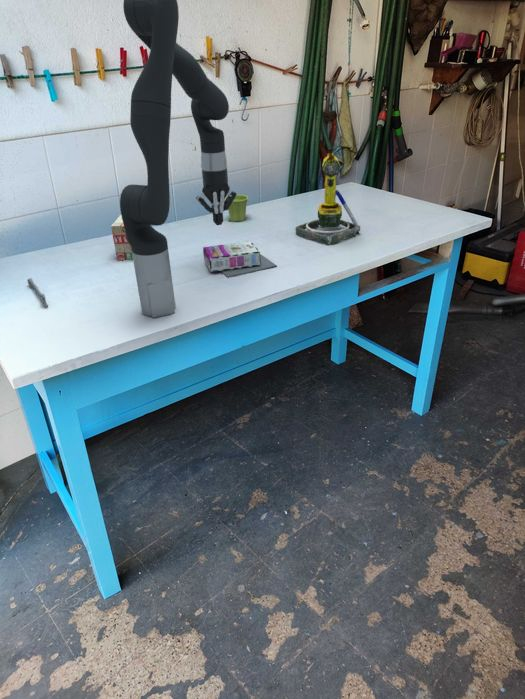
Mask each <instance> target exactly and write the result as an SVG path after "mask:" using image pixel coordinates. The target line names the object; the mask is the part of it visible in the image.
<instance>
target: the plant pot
mask: <svg viewBox="0 0 525 699" xmlns="http://www.w3.org/2000/svg"><path fill="white" fill-rule="evenodd" d="M226 198H227V196H226V197H225V199H224V201H225V200H226ZM248 199H249V196H248V195H244V194H237V195H236V197H235V198H234V200H233V202H232V204H231V205H230V207H229V209H228V210H227V211H228V215H229V219H230V221H231V222H243V221H245V220H246V215H247V213H246V212H247V204H248Z"/></svg>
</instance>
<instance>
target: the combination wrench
mask: <svg viewBox="0 0 525 699" xmlns="http://www.w3.org/2000/svg"><path fill="white" fill-rule="evenodd" d="M27 284H28V286H29V287H30V288H32V289H34V291H35V292H36V293H37V295H38V297H40V300H41V301H42V304H43V306H44V308H48V307H49V305H48V303H47V300H46V295H45V293H42V292H41V291H40V289H39V288H38V286H37V285H36V284H35V282H34V280H33V278H32V277H31V278H27Z"/></svg>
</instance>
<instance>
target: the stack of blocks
mask: <svg viewBox="0 0 525 699" xmlns="http://www.w3.org/2000/svg"><path fill="white" fill-rule="evenodd" d="M110 227H111V228H110V229H111V233H112V240H113V244H114V248H115V249H114V250H115V255H116V261H117V262H122V261H123V262H125V261H126V260H127V261H133V256H132V250H131V246H130V244H129V243H128V240H127V237H126V233H125V228H124V224H123V220H122V215H121V214H119V215H118V217H117V219H116V220H115V221H114V222H113V223H112V224H111V225H110ZM124 260H125V261H124Z"/></svg>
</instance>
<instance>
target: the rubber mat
mask: <svg viewBox="0 0 525 699" xmlns="http://www.w3.org/2000/svg"><path fill="white" fill-rule="evenodd" d="M260 258H261V260H260V261H261V265H260V266H253V267H246V268H238V269H230V270H223V271H221V272H220V273H221V274H223V275H224V276H225V277H226V278H227V277H228V279H229V277H230V278H233V277H238V275H239V276H241V275H247V273H248V274H251V273H256V272H260V271H264V270H269V269H274V268H278V266H277V264H275V263H274V262H272V261H271V260H269V259H268V258H267V257H265V256H264V255H263V254H261V253H260Z"/></svg>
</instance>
